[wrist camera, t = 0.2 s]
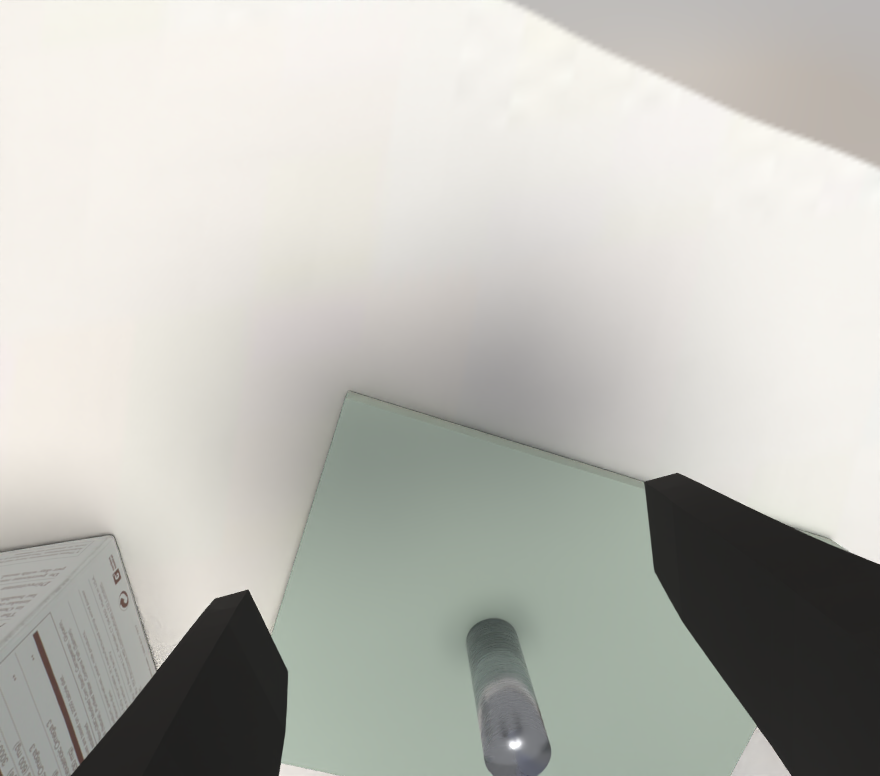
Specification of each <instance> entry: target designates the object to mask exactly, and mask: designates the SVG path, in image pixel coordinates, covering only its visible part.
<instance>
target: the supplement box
mask: <svg viewBox="0 0 880 776" xmlns="http://www.w3.org/2000/svg"><path fill="white" fill-rule="evenodd" d="M155 673H156V669H155V665H154V662H153V659H152V656H151V652H150V649H149V646H148V643H147V639H146V636H145V633H144V630H143V626H142V623H141V620H140V616H139V613H138V610H137V607H136V604H135V600H134V597H133V594H132V590H131V587H130V584H129V581H128V578H127V575H126V571H125V568H124V565H123V563H122V559H121V556H120V553H119V550H118V547H117V544H116V541H115V539H114V537H113V536H111V535H107V536H101V537H95V538H88V539H81V540H75V541H68V542H62V543H56V544H50V545H44V546H38V547H32V548H26V549H20V550H14V551H8V552H1V553H0V776H71V775H72V773H73V772H74V771H75V770H76V769H77V767H78V766H79V765H80V764H81V763H82V762H83V760H84V759H85V758H86V757H87V756H88V754H89V753H90V752H91V751H92V750H93V749H94V747H95V746H96V745H97V744H98V743H99V741H100V740H101V739H102V738H103V737H104V736H105V734H106V733H107V732H108V731H109V730H110V728H111V727H112V726H113V725H114V724H115V723H116V721H117V720H118V719H119V718H120V717H121V715H122V714H123V713H124V712H125V711H126V709H127V708H128V707H129V706H130V705H131V703H132V702H133V701H134V699H135V698H136V697H137V696H138V694H139V693H140V692H141V691H142V689H143V688H144V687H145V686H146V684H147V683H148V682H149V681H150V679H151V678H152V677H153V675H154V674H155Z"/></svg>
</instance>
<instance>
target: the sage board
mask: <svg viewBox="0 0 880 776" xmlns="http://www.w3.org/2000/svg"><path fill="white" fill-rule="evenodd" d="M794 529H795V528H794ZM796 530H798V529H796ZM798 531H801V532H803V533H805V534H807V535H810V536H812V537H814V538H817V539H819V540H821V541H823V542H826V543H828V544H830V545H833V546H835V547H838V548H840V549H843V550H845V551H847V550H846V549H844V548H843V547H841V546H840V545H838V544H837V543H835V542H834V541H832V540H831V539H828V538H824V537H821V536H818V535H815V534H811V533H808V532H805V531H802V530H798ZM847 552H849V551H847ZM489 618H498V619H502V620H505V621H507V622H508V623H510V624H511V625H512V626H513V627H514V628H515V630H516V632H517V635H518V639H519V642H520V645H521V649H522V652H523V655H524V659H525V662H526V665H527V669H528V672H529V675H530V679H531V682H532V686H533V689H534V692H535V696H536V699H537V702H538V706H539V709H540V712H541V716H542V719H543V722H544V726H545V729H546V732H547V736H548V739H549V742H550V746H551V758H550V761H549V763H548V765H547V767H546V768H545V769H544V770H543V771H542V772H541V773H540V774H539V775H537V776H730V775H731V774H732V772H733V770H734V768H735V766H736V764H737V762H738V760H739V759H740V757H741V755H742V753H743V751H744V749H745V747H746V746H747V744H748V742H749V740H750V738H751V736H752V734H753V733H754V731H755V729H756V727H757V725H756V724H755V722H754V721H753V720H752V718H751V717H750V715H749V714H748V713H747V711H746V710H745V709H744V707H743V706H742V704H741V703H740V702H739V700H738V699H737V698H736V696H735V695H734V693H733V692H732V691H731V689H730V688H729V687H728V685H727V684H726V682H725V681H724V680H723V678H722V677H721V675H720V674H719V673H718V671H717V670H716V669H715V667H714V666H713V664H712V663H711V662H710V660H709V659H708V657H707V656H706V655H705V653H704V652H703V650H702V649H701V648H700V646H699V645H698V643H697V642H696V641H695V639H694V638H693V636H692V635H691V634H690V632H689V631H688V629H687V628H686V626H685V625H684V624H683V622H682V620H681V619H680V617H679V615H678V613H677V612H676V610H675V608H674V606H673V605H672V603H671V601H670V599H669V598H668V596H667V594H666V592H665V590H664V588H663V587H662V585H661V583H660V581H659V579H658V577H657V575H656V574H655V572H654V565H653V556H652V548H651V539H650V530H649V521H648V512H647V503H646V494H645V485H644V482H643V481H640V480H636V479H633V478H630V477H627V476H623V475H620V474H617V473H614V472H610V471H607V470H604V469H601V468H597V467H594V466H591V465H588V464H584V463H581V462H578V461H575V460H572V459H568V458H565V457H562V456H559V455H555V454H552V453H549V452H546V451H542V450H539V449H536V448H533V447H529V446H526V445H523V444H520V443H516V442H513V441H510V440H507V439H503V438H500V437H497V436H494V435H490V434H487V433H484V432H481V431H478V430H474V429H471V428H468V427H465V426H461V425H458V424H455V423H452V422H448V421H445V420H442V419H439V418H435V417H432V416H429V415H426V414H422V413H419V412H416V411H413V410H409V409H406V408H403V407H400V406H396V405H393V404H390V403H387V402H383V401H380V400H377V399H374V398H371V397H367V396H364V395H361V394H358V393H354V392H351V391H348V393H347V395H346V398H345V401H344V404H343V407H342V410H341V414H340V417H339V420H338V423H337V426H336V430H335V433H334V436H333V439H332V443H331V446H330V449H329V452H328V455H327V459H326V462H325V465H324V468H323V471H322V475H321V478H320V481H319V484H318V488H317V491H316V494H315V497H314V500H313V504H312V507H311V510H310V513H309V516H308V520H307V523H306V526H305V529H304V533H303V536H302V539H301V542H300V545H299V549H298V552H297V555H296V558H295V562H294V565H293V568H292V571H291V574H290V578H289V581H288V584H287V587H286V590H285V594H284V597H283V600H282V603H281V607H280V610H279V613H278V616H277V619H276V623H275V626H274V629H273V632H272V635H271V637H272V639H273V641H274V643H275V645H276V647H277V649H278V651H279V653H280V655H281V658H282V660H283V662H284V664H285V666H286V668H287V670H288V696H287V716H286V733H285V739H284V746H283V752H282V758H281V763H283V764H288V765H293V766H297V767H302V768H307V769H311V770H316V771H321V772H325V773H330V774H335V775H339V776H493V775H492V774H491V773H490V772H489V771H488V769H487V767H486V765H485V761H484V755H483V748H482V742H481V736H480V730H479V723H478V717H477V711H476V705H475V698H474V692H473V686H472V680H471V673H470V667H469V661H468V654H467V648H466V637H467V634H468V632H469V631H470V629H471V628H472V627H473V626H474V625H475V624H477V623H478V622H480V621H482V620H485V619H489Z"/></svg>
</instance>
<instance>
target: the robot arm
mask: <svg viewBox="0 0 880 776" xmlns="http://www.w3.org/2000/svg"><path fill="white" fill-rule="evenodd" d="M644 485H645V494H646V503H647V512H648V521H649V530H650V539H651V548H652V556H653V565H654V572H655V574H656V575H657V577H658V579H659V581H660V583H661V585H662V587H663V588H664V590H665V592H666V594H667V596H668V598H669V599H670V601H671V603H672V605H673V606H674V608H675V610H676V612H677V613H678V615H679V617H680V619H681V620H682V622H683V624H684V625H685V626H686V628H687V629H688V631H689V632H690V634H691V635H692V636H693V638H694V639H695V641H696V642H697V643H698V645H699V646H700V648H701V649H702V650H703V652H704V653H705V655H706V656H707V657H708V659H709V660H710V662H711V663H712V664H713V666H714V667H715V669H716V670H717V671H718V673H719V674H720V675H721V677H722V678H723V680H724V681H725V682H726V684H727V685H728V687H729V688H730V689H731V691H732V692H733V693H734V695H735V696H736V698H737V699H738V700H739V702H740V703H741V704H742V706H743V707H744V709H745V710H746V711H747V713H748V714H749V715H750V717H751V718H752V720H753V721H754V722H755V724H756V725H757V727H758V728H759V729H760V731H761V732H762V733H763V735H764V736H765V738H766V739H767V740H768V742H769V743H770V744H771V746H772V747H773V749H774V750H775V752H776V753H777V755H778V756H779V758H780V759H781V761H782V762H783V764H784V765H785V767H786V768H787V770H788V771H789V773H790V774H791V776H880V564H877V563H874V562H872V561H869V560H867V559H865V558H862V557H860V556H857V555H855V554H852V553H850V552H847V551H845V550H843V549H840V548H838V547H835V546H833V545H830V544H828V543H826V542H823V541H821V540H819V539H817V538H814V537H812V536H810V535H807V534H805V533H803V532H801V531H798V530H796V529H794V528H792V527H790V526H787V525H785V524H783V523H781V522H779V521H777V520H774V519H772V518H770V517H768V516H766V515H764V514H762V513H760V512H758V511H755V510H753V509H751V508H749V507H747V506H745V505H743V504H741V503H739V502H737V501H735V500H733V499H731V498H729V497H727V496H725V495H723V494H721V493H719V492H717V491H715V490H712V489H710V488H708V487H706V486H704V485H702V484H700V483H698V482H696V481H694V480H692V479H690V478H688V477H686V476H683V475H681V474H679V473H675V474H671V475H668V476H664V477H660V478H657V479H653V480H649V481H646V482H644ZM287 696H288V670H287V668H286V666H285V664H284V662H283V660H282V658H281V655H280V653H279V651H278V649H277V647H276V645H275V643H274V641H273V639H272V637H271V635H270V633H269V631H268V629H267V627H266V625H265V623H264V621H263V619H262V616H261V614H260V612H259V610H258V608H257V606H256V604H255V602H254V600H253V598H252V596H251V594H250V592H249V590H245V591H241V592H238V593H234V594H230V595H227V596H223V597H219V598H216V599H214V600H213V601H212V603H211V604H210V605H209V606H208V607H207V608H206V609H205V611H204V612H203V613H202V614H201V616H200V617H199V618H198V619H197V621H196V622H195V623H194V624H193V626H192V627H191V628H190V629H189V631H188V632H187V633H186V635H185V636H184V637H183V638H182V640H181V641H180V642H179V644H178V645H177V646H176V647H175V649H174V650H173V651H172V653H171V654H170V655H169V656H168V658H167V659H166V660H165V662H164V663H163V664H162V665H161V667H160V668H159V669H158V670H157V672H156V673H155V674H154V675H153V677H152V678H151V679H150V681H149V682H148V683H147V684H146V686H145V687H144V688H143V689H142V691H141V692H140V693H139V694H138V696H137V697H136V698H135V699H134V701H133V702H132V703H131V705H130V706H129V707H128V708H127V709H126V711H125V712H124V713H123V714H122V715H121V717H120V718H119V719H118V720H117V721H116V723H115V724H114V725H113V726H112V727H111V728H110V730H109V731H108V732H107V733H106V734H105V736H104V737H103V738H102V739H101V740H100V741H99V743H98V744H97V745H96V746H95V747H94V749H93V750H92V751H91V752H90V753H89V754H88V756H87V757H86V758H85V759H84V760H83V762H82V763H81V764H80V765H79V766H78V767H77V769H76V770H75V771H74V772H73V773H72V775H71V776H279V771H280V765H281V758H282V752H283V746H284V739H285V733H286V716H287Z"/></svg>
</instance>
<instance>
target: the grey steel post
mask: <svg viewBox="0 0 880 776" xmlns="http://www.w3.org/2000/svg"><path fill="white" fill-rule="evenodd" d="M466 648H467V654H468V661H469V667H470V673H471V680H472V686H473V692H474V698H475V705H476V711H477V717H478V723H479V730H480V736H481V742H482V748H483V755H484V761H485V765H486V767H487V769H488V771H489V772H490V773H491V774H492V775H493V776H537V775H539V774H540V773H541V772H542V771H543V770H544V769H545V768H546V767H547V765H548V763H549V761H550V758H551V746H550V742H549V739H548V736H547V732H546V729H545V726H544V722H543V719H542V716H541V712H540V709H539V706H538V702H537V699H536V696H535V692H534V689H533V686H532V682H531V679H530V675H529V672H528V669H527V665H526V662H525V659H524V655H523V652H522V649H521V645H520V642H519V639H518V635H517V632H516V630H515V628H514V627H513V626H512V625H511V624H510V623H508V622H507V621H505V620H502V619H498V618H489V619H485V620H482V621H480V622H478V623H477V624H475V625H474V626H473V627H472V628H471V629H470V631H469V632H468V634H467V637H466Z"/></svg>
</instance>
